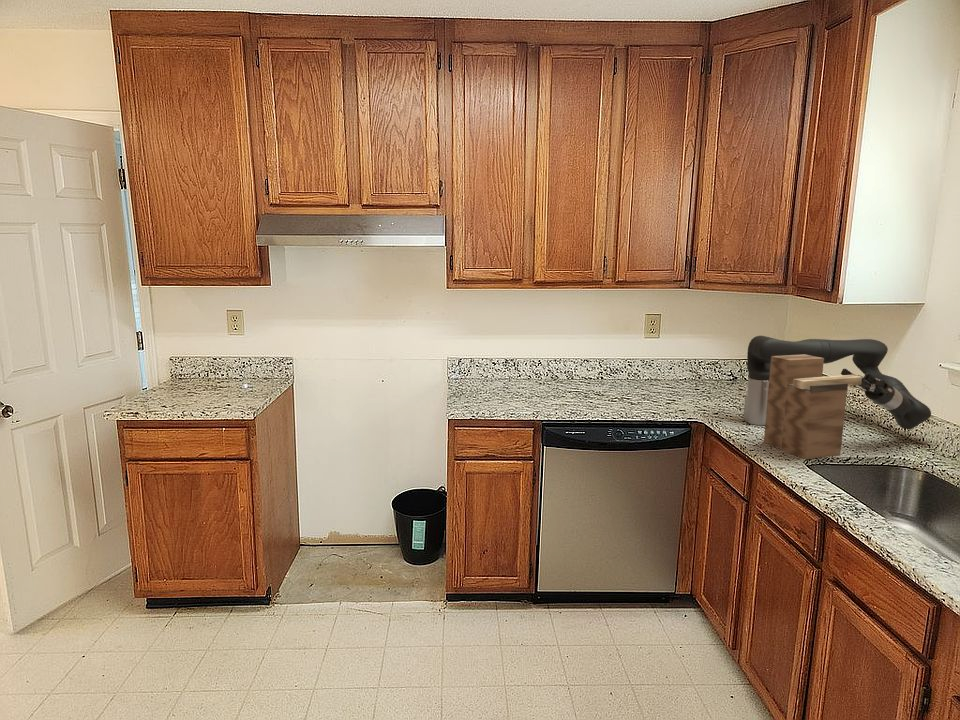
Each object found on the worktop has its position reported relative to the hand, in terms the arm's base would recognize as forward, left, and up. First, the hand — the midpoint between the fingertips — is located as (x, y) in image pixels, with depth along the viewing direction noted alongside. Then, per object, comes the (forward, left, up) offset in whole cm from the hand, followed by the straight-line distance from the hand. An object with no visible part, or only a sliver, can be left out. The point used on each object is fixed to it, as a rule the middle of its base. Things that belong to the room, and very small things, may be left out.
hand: (854, 373), depth 201 cm
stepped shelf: (-4, -15, -25) cm, 30 cm away
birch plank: (0, -11, -3) cm, 11 cm away
